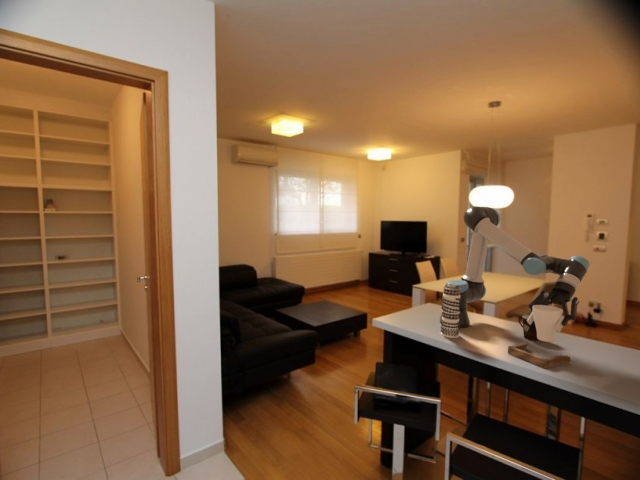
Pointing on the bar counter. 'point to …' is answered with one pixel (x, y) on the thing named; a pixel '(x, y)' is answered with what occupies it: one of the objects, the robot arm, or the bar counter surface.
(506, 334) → the bar counter surface
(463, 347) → the bar counter surface
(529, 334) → the coffee mug
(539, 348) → the bar counter surface
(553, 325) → the cup
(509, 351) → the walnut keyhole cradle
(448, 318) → the decorative candle
